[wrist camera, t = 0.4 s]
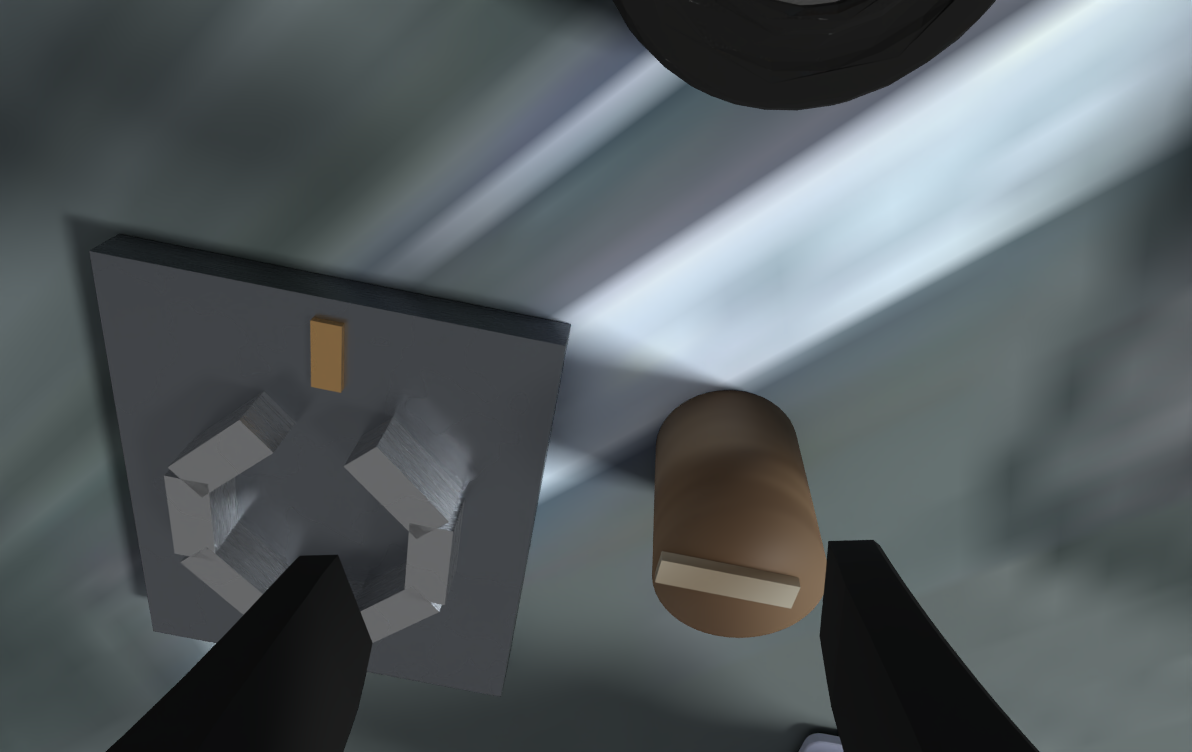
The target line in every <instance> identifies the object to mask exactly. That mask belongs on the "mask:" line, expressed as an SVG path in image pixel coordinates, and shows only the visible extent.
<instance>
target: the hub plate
mask: <svg viewBox="0 0 1192 752" xmlns="http://www.w3.org/2000/svg"><path fill="white" fill-rule="evenodd" d="M89 253H90V259H91V264H92V270H93V276H94V282H95V288H96V294H97V300H98V306H99V312H100V318H101V324H102V330H103V336H104V341H105V347H106V353H107V359H108V365H109V371H110V377H111V383H112V389H113V395H114V401H115V407H116V413H117V419H118V424H119V430H120V436H121V442H122V448H123V454H124V460H125V466H126V472H127V478H128V484H129V490H130V496H131V501H132V507H133V513H134V519H135V525H136V531H137V537H138V543H139V549H140V555H141V561H142V567H143V573H144V579H145V584H146V590H147V596H148V602H149V608H150V614H151V620H152V626H153V631H155V632H160V633H166V634H171V635H176V636H182V637H187V638H192V639H197V640H203V641H208V642H213V643H217V642H218V641H219V640H220V639H221V638H222V637H223V636H224V635H225V634H226V633H227V632H228V631H229V630H230V629H231V628H232V627H233V625H234V624H235V623H236V622H237V621H238V620H239V619H240V618H241V617H242V616H243V615H244V614H245V613H246V612H247V611H248V610H249V608H250V607H251V606H252V605H253V604H254V603H255V602H256V601H257V600H258V599H259V598H260V597H261V596H262V595H263V594H264V592H265V591H266V590H267V589H268V588H269V587H270V586H271V585H272V584H273V583H274V582H275V581H276V580H277V579H278V578H279V576H280V575H281V574H282V573H283V572H284V571H285V570H286V569H287V568H288V567H289V566H290V565H291V564H292V563H293V562H294V561H295V560H296V559H297V558H298V557H299V556H304V555H338V556H339V558H340V561H341V563H342V566H343V568H344V571H345V574H346V576H347V579H348V581H349V584H350V586H351V589H352V591H353V594H354V597H355V599H356V602H357V604H358V607H359V609H360V612H361V614H362V617H363V620H364V622H365V625H366V627H367V630H368V632H369V635H370V637H371V640H372V643H373V644H372V648H371V653H370V658H369V663H368V667H367V672H372V673H377V674H383V675H388V676H393V677H399V678H404V679H409V680H415V681H420V682H425V683H430V684H436V685H441V686H446V687H452V688H457V689H462V690H467V691H473V692H478V693H483V694H489V695H494V696H499V697H501V695H502V690H503V685H504V681H505V676H506V671H507V667H508V661H509V656H510V650H511V645H512V640H513V634H514V629H515V623H516V618H517V613H518V607H519V602H520V596H521V591H522V586H523V580H524V575H525V569H526V564H527V559H528V553H529V548H530V542H531V537H532V532H533V526H534V521H535V515H536V510H537V505H538V499H539V494H540V489H541V483H542V478H543V472H544V467H545V462H546V456H547V451H548V445H549V440H550V435H551V429H552V424H553V418H554V413H555V408H556V402H557V397H558V391H559V386H560V381H561V375H562V370H563V364H564V359H565V354H566V348H567V343H568V337H569V332H570V327H571V324H566V323H561V322H556V321H551V320H546V319H541V318H536V317H531V316H526V315H521V314H516V313H511V312H506V311H501V310H496V309H491V308H486V307H481V306H476V305H471V304H466V303H461V302H456V301H451V300H446V299H441V298H436V297H431V296H426V295H421V294H416V293H411V292H406V291H401V290H396V289H391V288H386V287H381V286H376V285H371V284H366V283H361V282H356V281H351V280H346V279H341V278H336V277H331V276H326V275H321V274H316V273H311V272H306V271H301V270H296V269H291V268H286V267H281V266H276V265H271V264H266V263H261V262H256V261H251V260H246V259H241V258H236V257H231V256H226V255H221V254H216V253H211V252H206V251H201V250H196V249H191V248H186V247H181V246H176V245H171V244H166V243H161V242H156V241H151V240H146V239H141V238H136V237H131V236H126V235H121V234H118V235H116V236H114V237H113V238H111V239H109V240H108V241H106V242H104V243H102V244H101V245H99V246H97V247H95V248H94V249H92V250H90V251H89Z"/></svg>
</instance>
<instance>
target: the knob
mask: <svg viewBox="0 0 1192 752" xmlns="http://www.w3.org/2000/svg"><path fill="white" fill-rule="evenodd" d="M826 563H827V561H826V556H825V552H824V548H823V544H822V540H821V536H820V532H819V527H818V523H817V519H816V515H815V511H814V507H813V502H812V498H811V494H810V490H809V486H808V482H807V477H806V473H805V469H804V465H803V461H802V457H801V453H800V448H799V444H798V440H797V436H796V432H795V430H794V427H793V425H792V423H791V421H790V420H789V418H788V417H787V416H786V414H785V413H784V412H783V411H782V410H781V409H780V408H779V407H778V406H776V405H775V404H773V403H772V402H770V401H769V400H767V399H765V398H763V397H760V396H758V395H755V394H752V393H748V392H743V391H736V390H722V391H714V392H708V393H705V394H702V395H698V396H696V397H694V398H691V399H689V400H688V401H686V402H684V403H682V404H681V405H680V406H678V407H677V408H676V409H675V410H674V411H673V412H672V413H671V414H670V415H669V416H668V417H667V418H666V420H665V421H664V423H663V424H662V426H661V428H660V430H659V433H658V436H657V441H656V460H655V495H654V531H653V566H652V580H653V586H654V589H655V592H656V594H657V596H658V598H659V600H660V602H661V603H662V604H663V606H664V607H665V608H666V609H667V610H668V611H669V612H670V613H671V614H672V615H673V616H674V617H675V618H677V619H678V620H679V621H681V622H683V623H684V624H686V625H688V626H690V627H692V628H694V629H696V630H699V631H702V632H705V633H708V634H712V635H716V636H723V637H735V638H743V637H755V636H762V635H766V634H771V633H774V632H777V631H780V630H782V629H785V628H787V627H789V626H791V625H793V624H795V623H796V622H798V621H800V620H801V619H802V618H804V617H805V616H806V615H808V614H809V613H810V612H811V611H812V610H813V609H814V608H815V606H816V605H817V604H818V603H819V601H820V599H821V598H822V596H823V594H824V584H825V574H826Z"/></svg>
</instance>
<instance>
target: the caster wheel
mask: <svg viewBox="0 0 1192 752" xmlns="http://www.w3.org/2000/svg"><path fill="white" fill-rule="evenodd" d="M995 1H996V0H613V2H614V4H615V5H616V7H617V9H618V11H619V12H620V14H621V16H622V17H623V19H624V21H625V23H626V24H627V26H628V28H629V30H630V31H631V32H632V33H633V34H634V36H635V37H636V38H637V39H638V40H639V42H640V43H641V44H642V45H643V46H644V47H645V48H646V49H647V50H648V51H649V52H650V53H651V54H652V55H653V56H654V57H655V58H656V59H657V60H658V61H659V62H660V63H661V64H662V65H663V66H664V67H665V68H667V69H668V70H669V71H671V72H672V73H674V74H675V75H677V76H678V77H679V78H681V79H682V80H684V81H685V82H686V83H688V84H689V85H691V86H692V87H694V88H696V89H698V90H700V91H702V92H704V93H707V94H709V95H711V96H713V97H716V98H719V99H722V100H724V101H727V102H730V103H733V104H737V105H742V106H748V107H753V108H759V109H764V110H802V109H810V108H817V107H824V106H831V105H836V104H840V103H843V102H847V101H850V100H852V99H855V98H858V97H860V96H863V95H865V94H868V93H871V92H873V91H876V90H878V89H881V88H884V87H886V86H889V85H890V84H892V83H894V82H895V81H897V80H899V79H900V78H902V77H904V76H905V75H907V74H909V73H910V72H912V71H914V70H915V69H917V68H919V67H920V66H922V65H924V64H925V63H927V62H928V61H930V60H931V59H932V58H934V57H935V56H937V55H938V54H939V53H941V52H942V51H943V50H945V49H946V48H947V47H949V46H950V45H951V44H953V43H954V42H955V41H957V40H958V39H959V38H960V37H961V36H962V35H963V34H964V33H965V32H966V31H967V30H968V29H969V28H970V27H971V26H972V25H973V24H974V23H975V22H976V21H978V20H979V19H980V17H981V16H982V15H983V14H984V13H985V12H986V11H987V10H988V9H989V8H990V7H991V5H992V4H993V3H994V2H995Z"/></svg>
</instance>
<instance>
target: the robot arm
mask: <svg viewBox="0 0 1192 752" xmlns="http://www.w3.org/2000/svg"><path fill="white" fill-rule="evenodd" d="M820 641H821V647H822V654H823V660H824V666H825V673H826V679H827V684H828V690H829V696H830V702H831V707H832V711H833V715H834V719H835V722H836V726H837V730H838V733H839V736H833V735H828V734H823V733H815V734H811V735H809V736H808V737H807V738H806V739H805V741H804V742H803V744H802V746H801V748H800V750H799V752H1039V751H1038V749H1037V748H1036V747H1035V746H1034V745H1033V744H1032V743H1031V742H1030V741H1029V740H1028V738H1027V737H1026V736H1025V735H1024V734H1023V733H1022V732H1021V730H1020V729H1019V728H1018V727H1017V726H1016V725H1015V724H1014V722H1013V721H1012V720H1011V719H1010V718H1009V717H1008V716H1007V714H1006V713H1005V712H1004V711H1003V710H1002V709H1001V708H1000V706H999V705H998V704H997V703H996V702H995V700H994V699H993V698H992V697H991V696H990V694H989V693H988V692H987V691H986V690H985V688H984V687H983V686H982V685H981V684H980V682H979V681H978V680H977V679H976V677H975V676H974V675H973V674H972V672H971V671H970V670H969V669H968V667H967V666H966V665H965V664H964V662H963V661H962V660H961V658H960V657H959V656H958V655H957V653H956V652H955V651H954V650H953V648H952V647H951V646H950V645H949V643H948V642H947V641H946V639H945V638H944V637H943V636H942V634H941V633H940V632H939V630H938V629H937V628H936V626H935V625H934V624H933V622H932V621H931V619H930V618H929V617H928V615H927V614H926V613H925V611H924V610H923V608H922V607H921V606H920V604H919V603H918V602H917V600H916V599H915V597H914V596H913V594H912V593H911V592H910V590H909V589H908V587H907V586H906V584H905V583H904V582H903V580H902V579H901V577H900V576H899V574H898V573H897V571H896V570H895V568H894V567H893V565H892V564H891V562H890V561H889V559H888V557H887V556H886V554H885V553H884V551H883V550H882V548H881V546H880V545H879V544H877V543H876V542H875V541H874V540H853V541H828V552H827V563H826V574H825V584H824V595H823V606H822V616H821V627H820ZM372 644H373V643H372V640H371V637H370V635H369V632H368V630H367V627H366V625H365V622H364V620H363V617H362V614H361V612H360V609H359V607H358V604H357V602H356V599H355V597H354V594H353V591H352V589H351V586H350V584H349V581H348V579H347V576H346V574H345V571H344V568H343V566H342V563H341V561H340V558H339V556H338V555H304V556H299V557H298V558H297V559H296V560H295V561H294V562H293V563H292V564H291V565H290V566H289V567H288V568H287V569H286V570H285V571H284V572H283V573H282V574H281V575H280V576H279V578H278V579H277V580H276V581H275V582H274V583H273V584H272V585H271V586H270V587H269V588H268V589H267V590H266V591H265V592H264V594H263V595H262V596H261V597H260V598H259V599H258V600H257V601H256V602H255V603H254V604H253V605H252V606H251V607H250V608H249V610H248V611H247V612H246V613H245V614H244V615H243V616H242V617H241V618H240V619H239V620H238V621H237V622H236V623H235V624H234V625H233V627H232V628H231V629H230V630H229V631H228V632H227V633H226V634H225V635H224V636H223V637H222V638H221V639H220V640H219V641H218V642H217V643H216V644H215V645H214V646H213V647H212V648H211V650H210V651H209V652H208V653H207V654H206V655H205V656H204V657H203V658H202V659H201V660H200V661H199V662H198V663H197V664H196V665H195V666H194V667H193V668H192V669H191V670H190V671H189V672H188V673H187V674H186V675H185V676H184V677H183V678H182V679H181V680H180V681H179V682H178V683H177V684H176V685H175V686H174V687H173V688H172V689H171V690H170V691H169V692H168V693H167V694H166V695H165V696H164V697H163V698H162V699H161V700H160V701H159V702H158V703H156V704H155V705H154V706H153V707H152V708H151V709H150V710H149V711H148V712H147V713H146V714H145V715H144V716H143V717H142V718H141V719H140V720H139V721H138V722H137V723H136V724H135V725H134V726H133V727H132V728H131V729H130V730H128V731H127V732H126V733H125V734H124V735H123V736H122V737H121V738H120V739H119V740H118V741H117V742H116V743H115V744H113V745H112V746H111V747H110V748H109V749H108V750H107V751H106V752H343V751H344V748H345V745H346V742H347V740H348V737H349V734H350V731H351V728H352V725H353V722H354V719H355V716H356V713H357V710H358V706H359V702H360V698H361V694H362V690H363V686H364V681H365V677H366V672H367V667H368V663H369V658H370V653H371V648H372Z"/></svg>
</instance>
